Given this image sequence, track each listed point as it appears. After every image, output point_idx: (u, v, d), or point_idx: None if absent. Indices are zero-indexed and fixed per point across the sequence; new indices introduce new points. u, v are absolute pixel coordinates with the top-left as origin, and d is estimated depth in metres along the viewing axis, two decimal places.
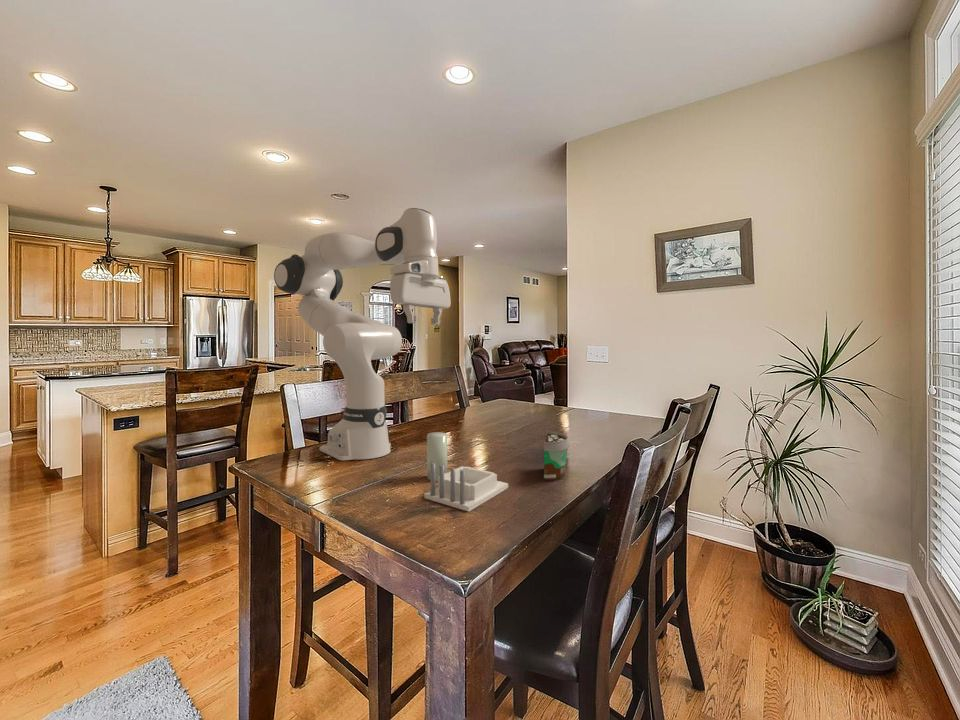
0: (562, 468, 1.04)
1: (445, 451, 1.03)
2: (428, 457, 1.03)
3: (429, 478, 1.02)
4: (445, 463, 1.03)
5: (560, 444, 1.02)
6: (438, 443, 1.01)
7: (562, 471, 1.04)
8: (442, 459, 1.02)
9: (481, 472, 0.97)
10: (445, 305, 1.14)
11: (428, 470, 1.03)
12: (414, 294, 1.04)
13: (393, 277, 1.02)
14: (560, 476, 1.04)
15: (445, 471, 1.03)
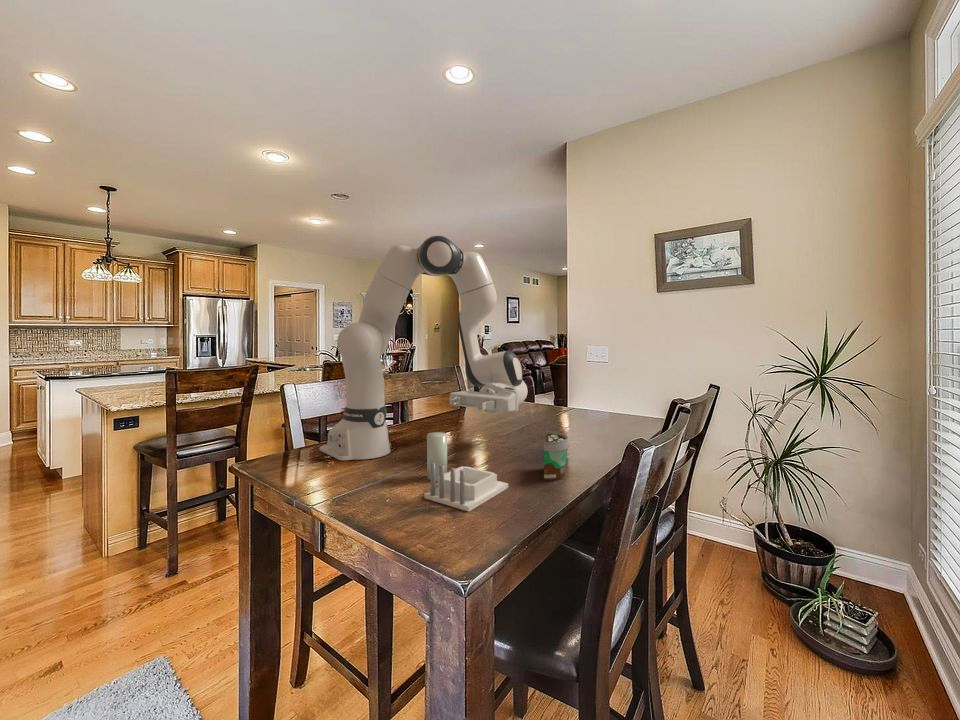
0: (562, 468, 1.04)
1: (445, 451, 1.03)
2: (428, 457, 1.03)
3: (429, 478, 1.02)
4: (445, 463, 1.03)
5: (560, 444, 1.02)
6: (438, 443, 1.01)
7: (562, 471, 1.04)
8: (442, 459, 1.02)
9: (481, 472, 0.97)
10: None
11: (428, 470, 1.03)
12: None
13: None
14: (560, 476, 1.04)
15: (445, 471, 1.03)
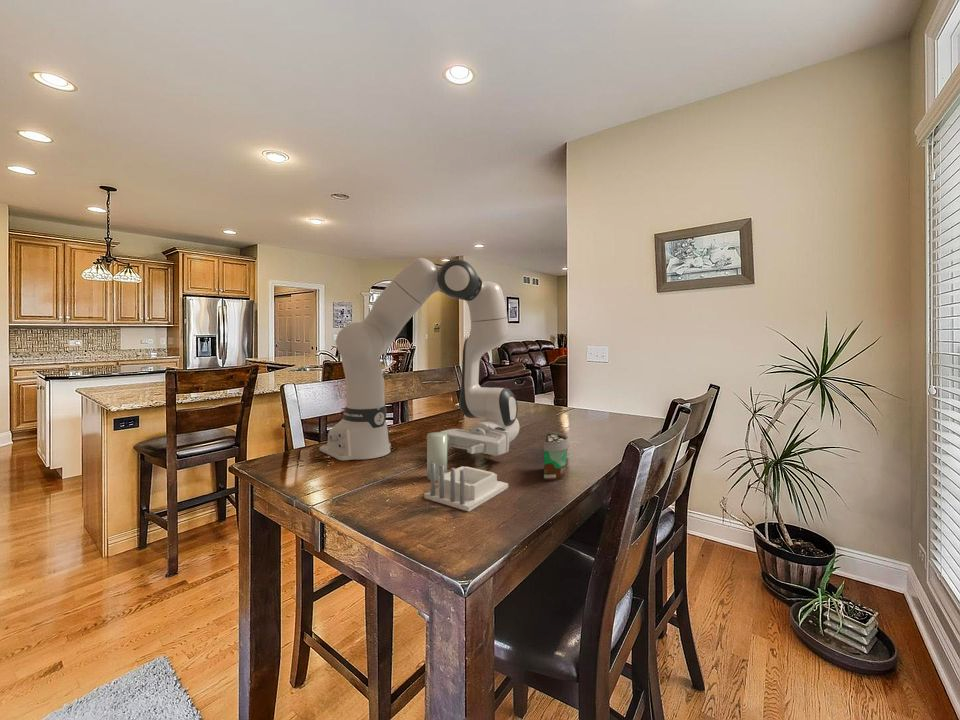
0: (562, 468, 1.04)
1: (445, 451, 1.03)
2: (428, 457, 1.03)
3: (429, 478, 1.02)
4: (445, 463, 1.03)
5: (560, 444, 1.02)
6: (438, 443, 1.01)
7: (562, 471, 1.04)
8: (442, 459, 1.02)
9: (481, 472, 0.97)
10: None
11: (428, 470, 1.03)
12: None
13: None
14: (560, 476, 1.04)
15: (445, 471, 1.03)
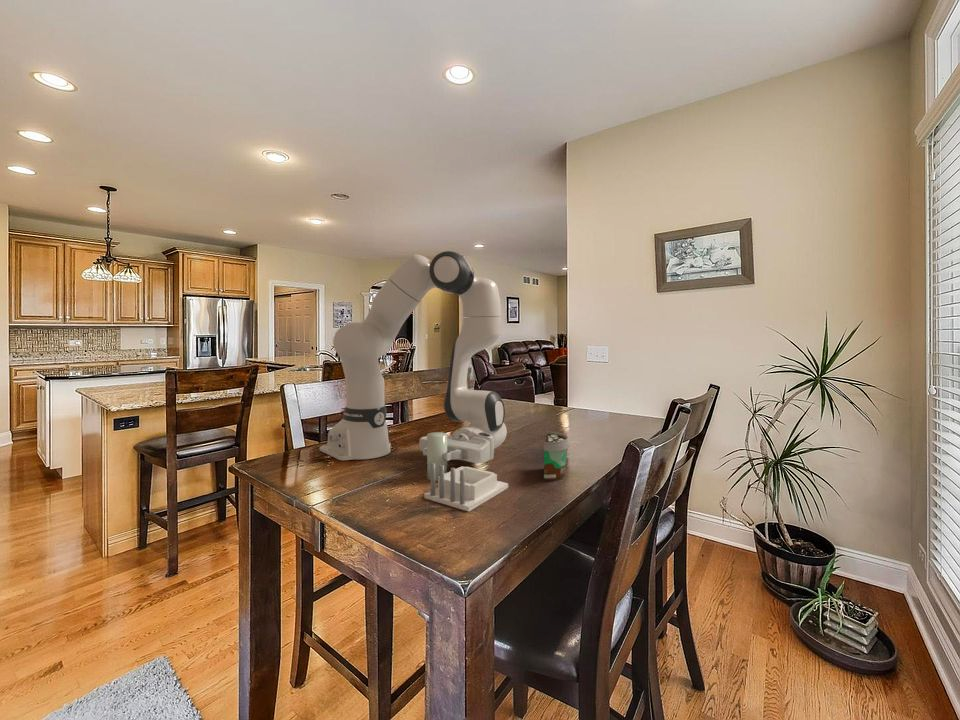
0: (562, 468, 1.04)
1: (445, 451, 1.03)
2: (428, 457, 1.03)
3: (429, 478, 1.02)
4: (445, 463, 1.03)
5: (560, 444, 1.02)
6: (438, 443, 1.01)
7: (562, 471, 1.04)
8: (442, 459, 1.02)
9: (481, 472, 0.97)
10: None
11: (428, 470, 1.03)
12: None
13: (489, 445, 1.07)
14: (560, 476, 1.04)
15: (445, 471, 1.03)
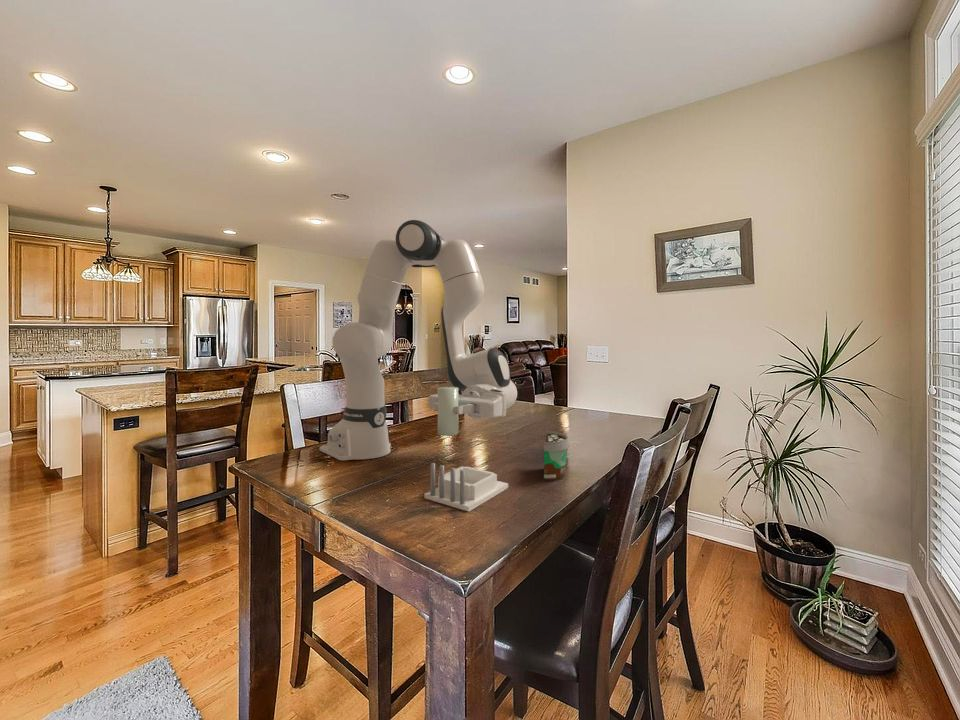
0: (562, 468, 1.04)
1: (456, 405, 0.99)
2: (439, 411, 0.99)
3: (440, 432, 0.99)
4: (456, 417, 0.99)
5: (560, 444, 1.02)
6: (449, 396, 0.97)
7: (562, 471, 1.04)
8: (454, 413, 0.98)
9: (481, 472, 0.97)
10: None
11: (439, 425, 0.99)
12: None
13: None
14: (560, 476, 1.04)
15: (456, 426, 0.99)
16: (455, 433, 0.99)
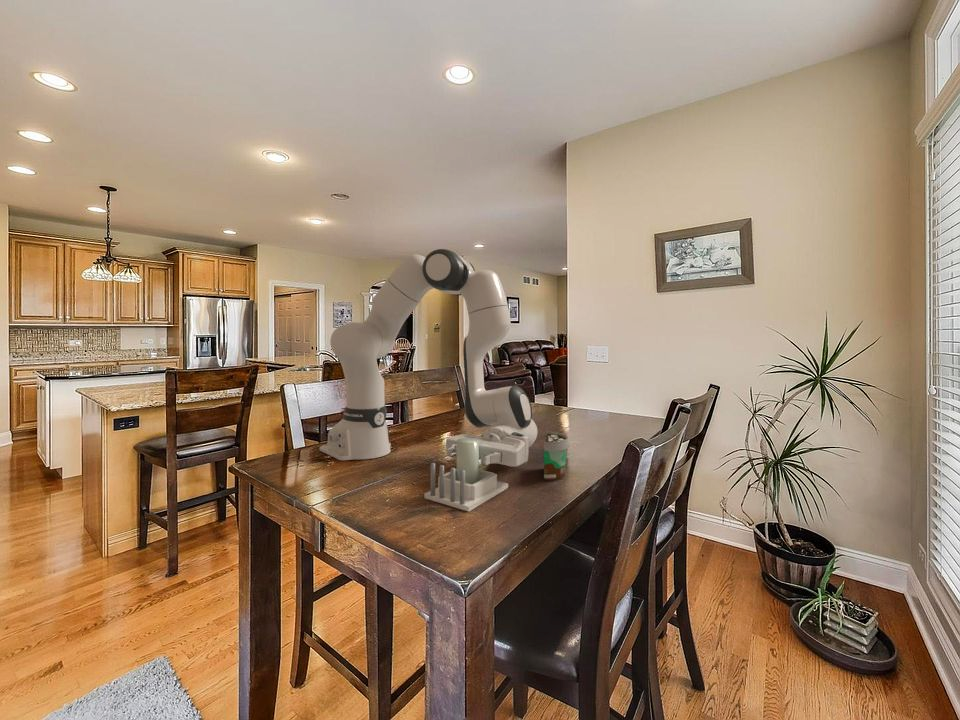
0: (562, 468, 1.04)
1: (477, 459, 0.93)
2: (458, 466, 0.93)
3: None
4: (477, 472, 0.93)
5: (560, 444, 1.02)
6: (469, 451, 0.92)
7: (562, 471, 1.04)
8: (474, 468, 0.92)
9: (481, 472, 0.97)
10: None
11: (458, 480, 0.93)
12: None
13: None
14: (560, 476, 1.04)
15: (477, 481, 0.93)
16: None
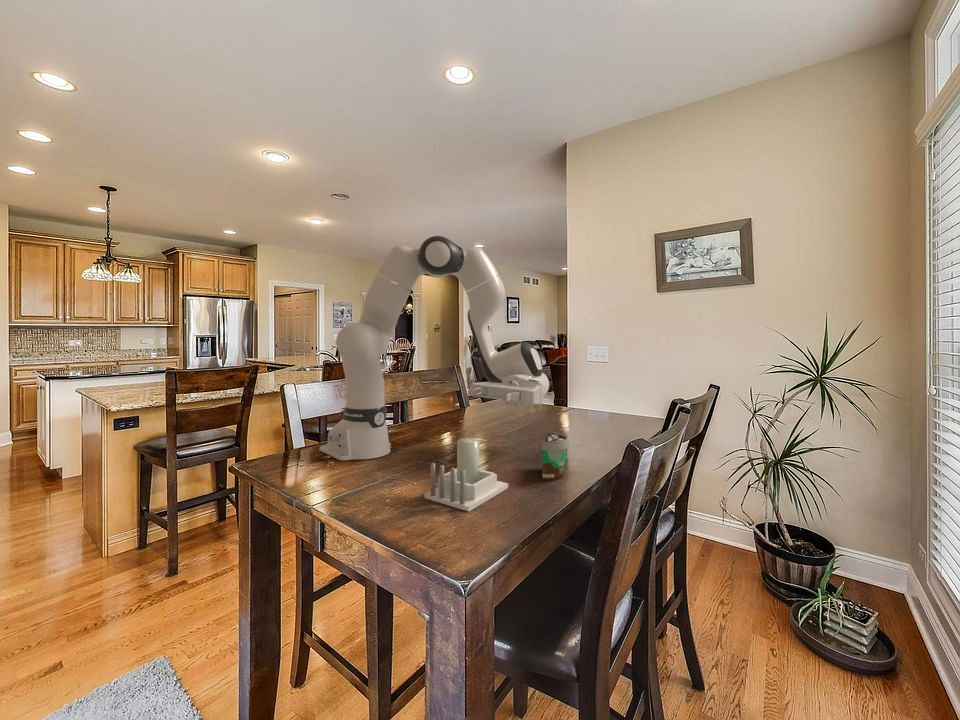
0: (561, 468, 1.04)
1: (477, 459, 0.93)
2: (458, 465, 0.93)
3: None
4: (477, 472, 0.93)
5: (559, 444, 1.02)
6: (470, 450, 0.92)
7: (561, 471, 1.04)
8: (474, 468, 0.92)
9: (481, 472, 0.97)
10: (477, 396, 1.17)
11: (458, 480, 0.93)
12: None
13: None
14: (559, 476, 1.04)
15: (477, 481, 0.93)
16: None
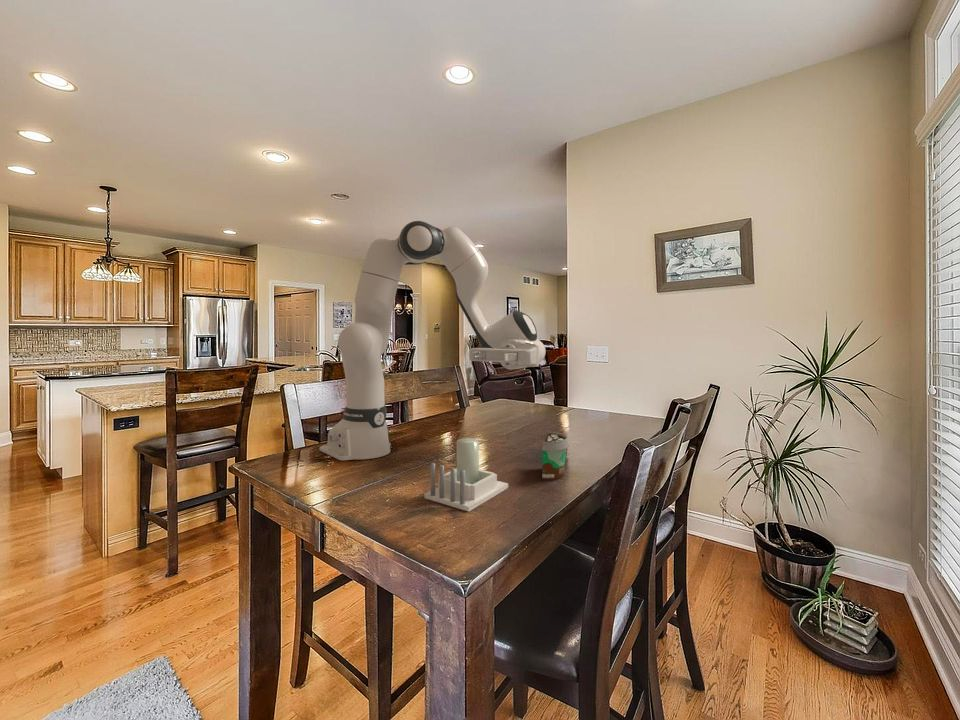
0: (561, 468, 1.04)
1: (477, 459, 0.93)
2: (458, 466, 0.93)
3: None
4: (477, 472, 0.93)
5: (558, 444, 1.02)
6: (469, 451, 0.92)
7: (561, 471, 1.04)
8: (474, 468, 0.92)
9: (481, 472, 0.97)
10: (476, 360, 1.20)
11: (458, 480, 0.93)
12: None
13: None
14: (559, 476, 1.04)
15: (477, 481, 0.93)
16: None
